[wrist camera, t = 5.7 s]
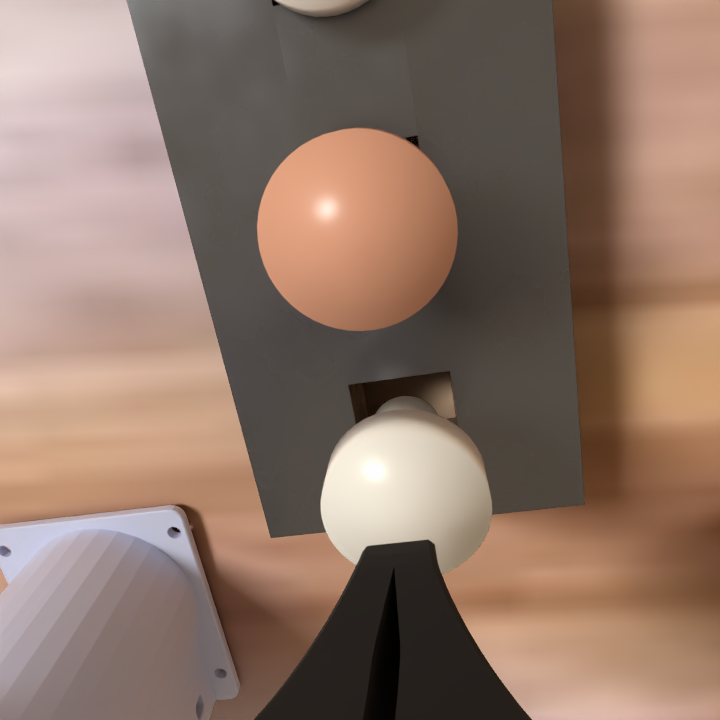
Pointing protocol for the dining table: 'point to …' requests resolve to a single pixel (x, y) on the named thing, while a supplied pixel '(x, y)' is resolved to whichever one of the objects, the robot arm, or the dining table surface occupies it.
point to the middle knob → (357, 229)
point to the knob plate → (472, 205)
